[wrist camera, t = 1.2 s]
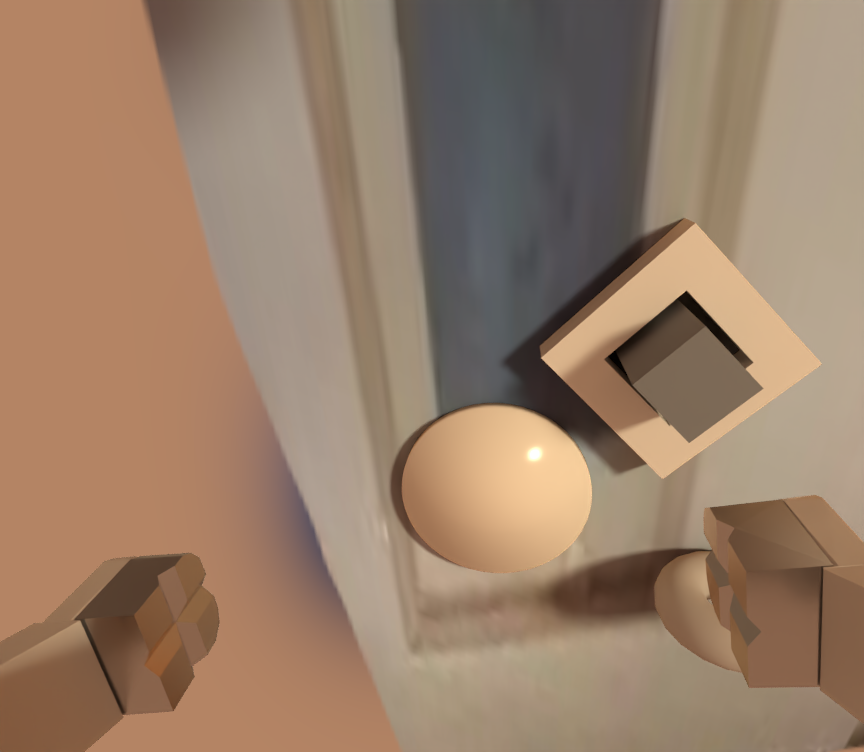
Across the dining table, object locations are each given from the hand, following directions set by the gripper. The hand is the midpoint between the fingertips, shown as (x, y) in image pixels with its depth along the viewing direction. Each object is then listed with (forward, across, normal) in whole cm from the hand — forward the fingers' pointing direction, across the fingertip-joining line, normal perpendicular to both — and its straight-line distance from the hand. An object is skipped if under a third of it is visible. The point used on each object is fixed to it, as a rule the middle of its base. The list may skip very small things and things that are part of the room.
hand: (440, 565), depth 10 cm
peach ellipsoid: (+33, +2, +17) cm, 37 cm away
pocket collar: (+33, -11, +8) cm, 35 cm away
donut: (+33, -13, +25) cm, 44 cm away
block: (+33, -11, +8) cm, 35 cm away
